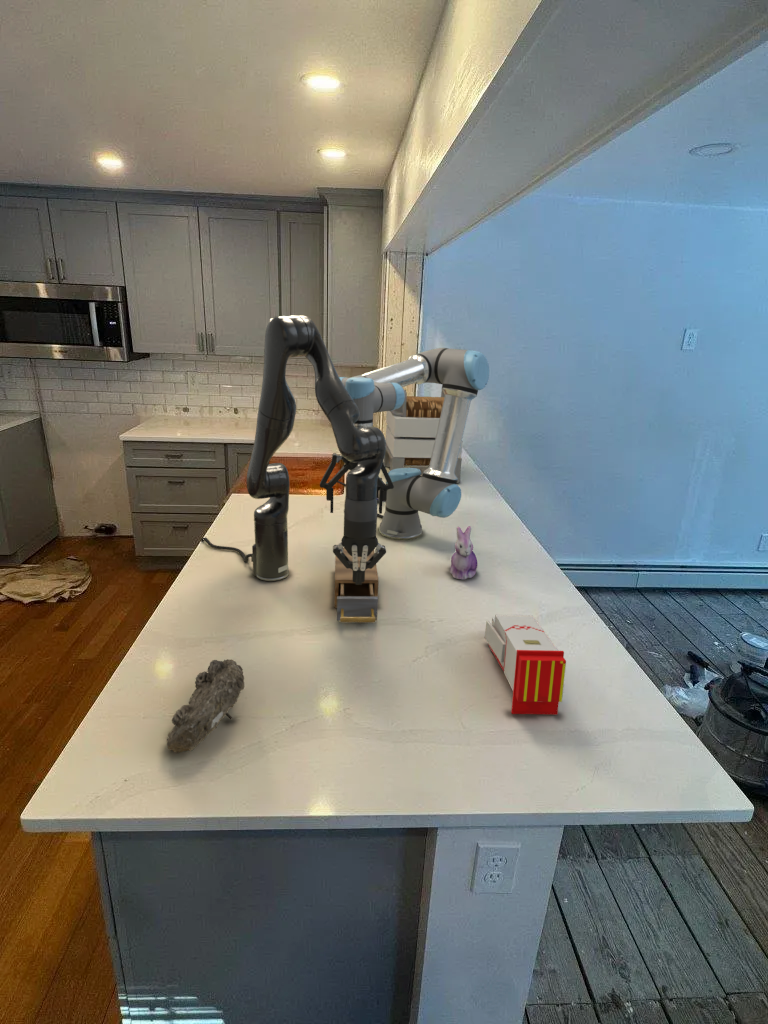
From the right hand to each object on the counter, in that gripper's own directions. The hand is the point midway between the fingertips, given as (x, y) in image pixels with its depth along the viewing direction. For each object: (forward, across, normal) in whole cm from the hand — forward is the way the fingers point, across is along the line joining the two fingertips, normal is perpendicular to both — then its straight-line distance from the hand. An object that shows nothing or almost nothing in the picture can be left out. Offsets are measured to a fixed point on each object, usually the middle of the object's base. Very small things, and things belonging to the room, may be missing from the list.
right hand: (356, 511), depth 159 cm
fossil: (+21, -28, -59) cm, 69 cm away
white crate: (+21, +34, +113) cm, 120 cm away
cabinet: (+21, 0, -7) cm, 22 cm away
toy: (+21, +35, -46) cm, 62 cm away
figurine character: (+21, +10, +73) cm, 77 cm away
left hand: (+8, 0, -28) cm, 30 cm away
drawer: (+20, 0, -18) cm, 27 cm away
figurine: (+21, +33, +3) cm, 39 cm away
